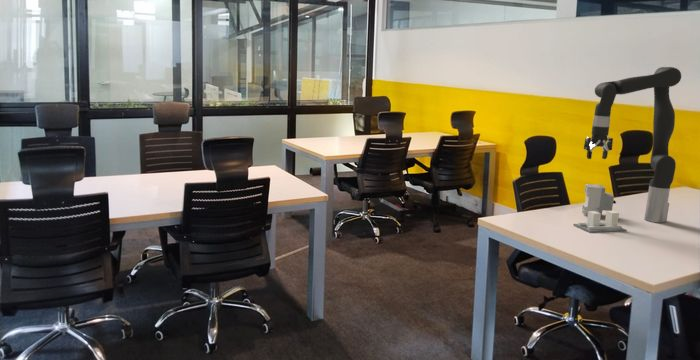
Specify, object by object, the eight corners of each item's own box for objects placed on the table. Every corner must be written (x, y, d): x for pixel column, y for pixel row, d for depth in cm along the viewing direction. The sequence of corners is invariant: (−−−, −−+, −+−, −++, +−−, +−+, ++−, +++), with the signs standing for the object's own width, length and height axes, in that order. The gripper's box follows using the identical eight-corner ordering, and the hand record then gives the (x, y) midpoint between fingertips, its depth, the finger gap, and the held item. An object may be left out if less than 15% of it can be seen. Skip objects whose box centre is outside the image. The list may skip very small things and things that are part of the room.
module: (591, 225, 286) (593, 210, 285) (598, 228, 282) (600, 213, 280) (585, 225, 285) (587, 210, 284) (592, 228, 281) (594, 213, 279)
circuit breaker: (614, 218, 305) (618, 189, 302) (584, 215, 307) (588, 186, 304) (611, 215, 312) (615, 186, 309) (581, 212, 314) (585, 183, 311)
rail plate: (609, 224, 293) (611, 208, 291) (626, 231, 282) (628, 215, 280) (573, 225, 287) (575, 209, 286) (589, 232, 276) (591, 216, 274)
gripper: (608, 124, 297) (603, 157, 301) (583, 124, 293) (579, 157, 297) (618, 126, 290) (614, 160, 294) (593, 126, 286) (589, 160, 290)
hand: (596, 158), depth 295 cm, fingers open, 8 cm apart
